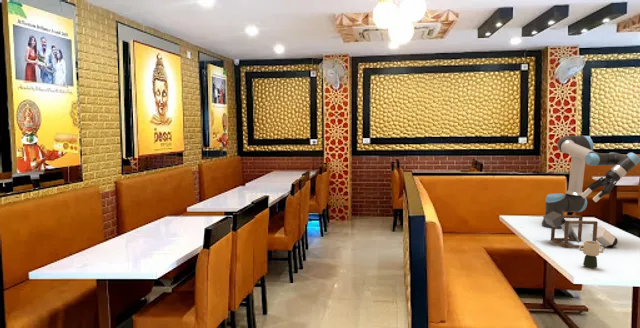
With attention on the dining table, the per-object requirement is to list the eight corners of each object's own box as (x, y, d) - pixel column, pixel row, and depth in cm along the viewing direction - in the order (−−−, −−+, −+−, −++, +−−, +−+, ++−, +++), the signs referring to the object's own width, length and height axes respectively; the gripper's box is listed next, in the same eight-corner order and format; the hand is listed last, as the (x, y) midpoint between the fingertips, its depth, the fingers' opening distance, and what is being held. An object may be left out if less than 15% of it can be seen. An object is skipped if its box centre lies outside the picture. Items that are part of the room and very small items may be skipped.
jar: (606, 226, 274) (620, 236, 277) (595, 225, 282) (608, 235, 285) (600, 239, 273) (614, 250, 275) (588, 237, 280) (602, 247, 283)
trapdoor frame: (550, 240, 294) (552, 215, 292) (579, 240, 293) (581, 215, 292) (564, 247, 276) (566, 221, 274) (595, 248, 275) (597, 221, 274)
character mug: (601, 266, 240) (602, 241, 239) (603, 270, 234) (605, 245, 233) (577, 263, 245) (578, 239, 243) (578, 267, 238) (580, 242, 237)
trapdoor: (542, 216, 291) (553, 210, 290) (556, 242, 292) (568, 236, 291) (552, 221, 277) (564, 214, 276) (567, 248, 278) (579, 241, 277)
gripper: (632, 181, 267) (603, 206, 269) (608, 176, 292) (581, 199, 294) (623, 171, 267) (594, 197, 269) (599, 167, 291) (573, 191, 294)
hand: (588, 198), depth 281 cm, fingers open, 13 cm apart
